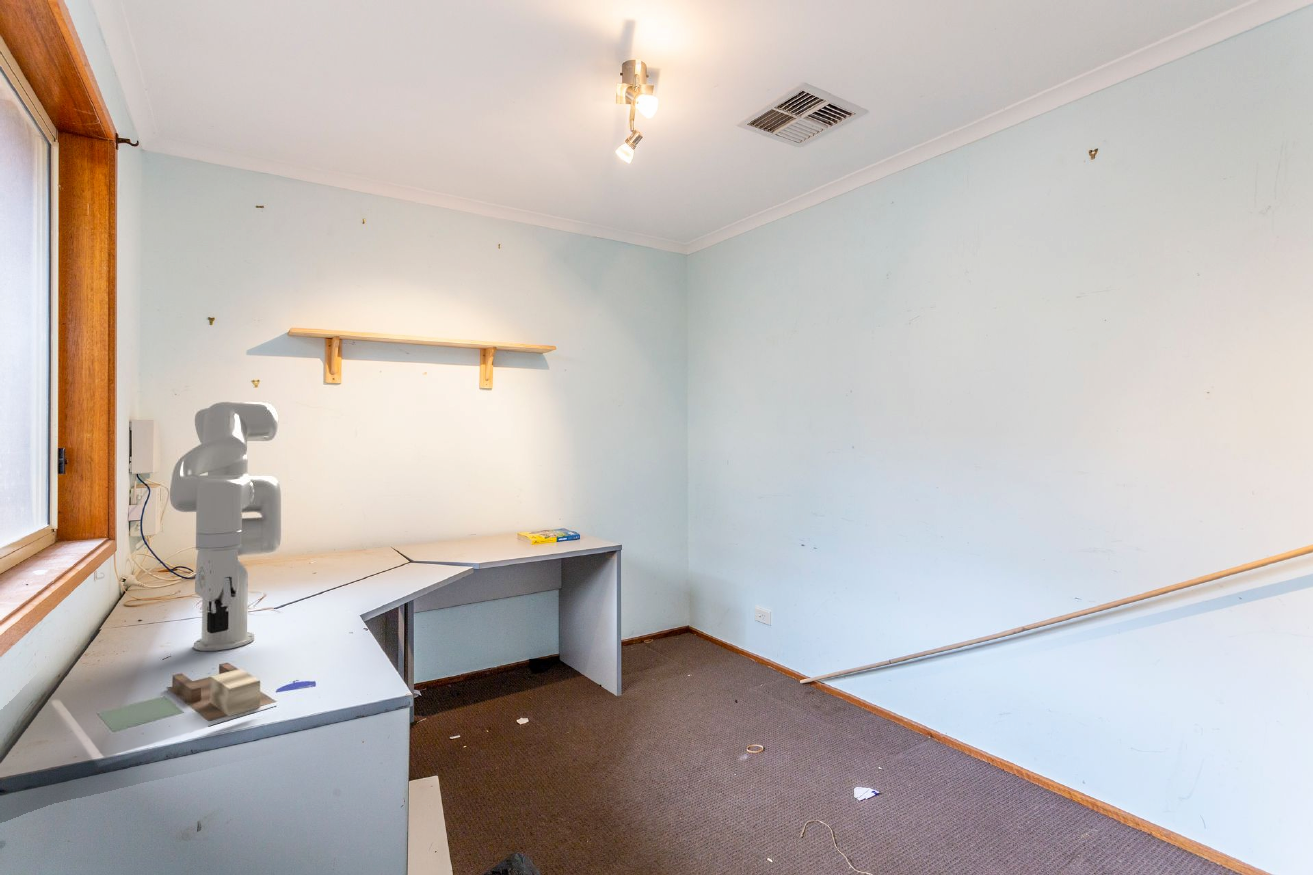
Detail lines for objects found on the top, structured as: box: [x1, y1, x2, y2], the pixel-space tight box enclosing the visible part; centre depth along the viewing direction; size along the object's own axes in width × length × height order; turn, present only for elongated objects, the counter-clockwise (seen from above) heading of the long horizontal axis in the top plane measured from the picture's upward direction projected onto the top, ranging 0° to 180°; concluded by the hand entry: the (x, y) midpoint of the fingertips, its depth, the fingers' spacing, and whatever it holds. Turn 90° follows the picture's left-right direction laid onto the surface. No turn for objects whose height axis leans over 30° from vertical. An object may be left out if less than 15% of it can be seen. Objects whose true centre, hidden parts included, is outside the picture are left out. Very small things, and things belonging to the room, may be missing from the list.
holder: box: [166, 662, 277, 728], centre depth 122 cm, size 25×11×4 cm, turn 52°
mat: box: [97, 695, 185, 733], centre depth 113 cm, size 12×10×1 cm
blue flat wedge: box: [275, 679, 317, 693], centre depth 130 cm, size 2×8×12 cm
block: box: [209, 668, 261, 717], centre depth 117 cm, size 10×5×5 cm, turn 52°
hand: (217, 630), depth 124 cm, fingers closed
